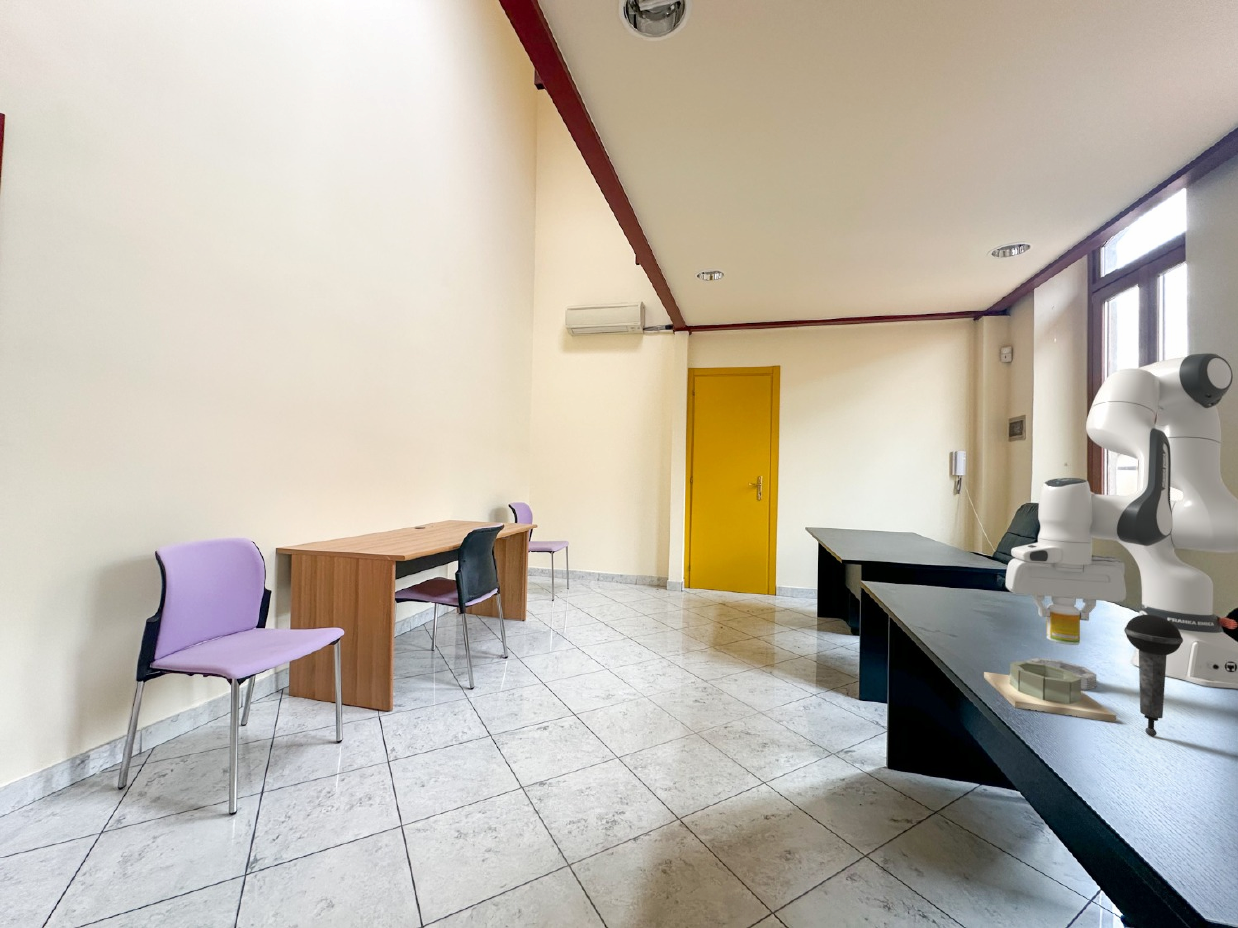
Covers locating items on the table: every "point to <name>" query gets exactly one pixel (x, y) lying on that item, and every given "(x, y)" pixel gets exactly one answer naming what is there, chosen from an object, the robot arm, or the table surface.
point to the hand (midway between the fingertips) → (1063, 618)
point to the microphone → (1152, 661)
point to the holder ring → (1086, 675)
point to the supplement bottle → (1063, 621)
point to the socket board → (1047, 691)
